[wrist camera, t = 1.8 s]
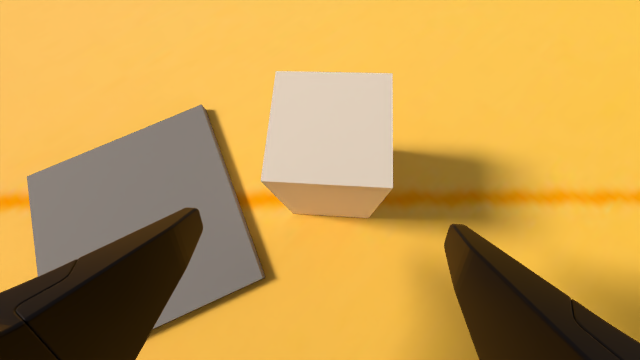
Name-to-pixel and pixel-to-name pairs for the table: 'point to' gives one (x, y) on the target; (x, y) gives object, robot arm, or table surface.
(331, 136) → the white tall block
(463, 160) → the table surface
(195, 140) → the mat
